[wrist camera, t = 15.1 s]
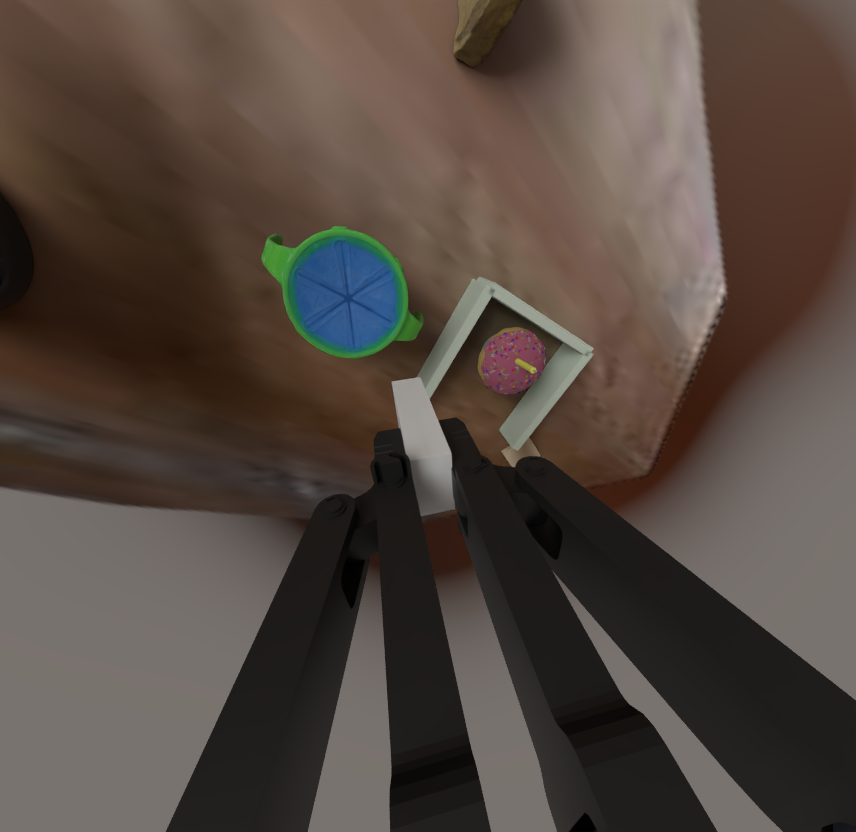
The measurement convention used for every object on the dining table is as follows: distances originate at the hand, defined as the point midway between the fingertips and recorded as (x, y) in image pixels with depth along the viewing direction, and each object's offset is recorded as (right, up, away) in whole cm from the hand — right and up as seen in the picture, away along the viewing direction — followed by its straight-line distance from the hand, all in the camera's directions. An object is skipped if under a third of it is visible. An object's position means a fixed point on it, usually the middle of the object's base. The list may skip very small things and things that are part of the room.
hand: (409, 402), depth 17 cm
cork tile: (+16, -6, +37) cm, 41 cm away
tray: (+10, +6, +27) cm, 30 cm away
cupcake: (+11, +8, +26) cm, 30 cm away
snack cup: (-8, +14, +19) cm, 25 cm away
